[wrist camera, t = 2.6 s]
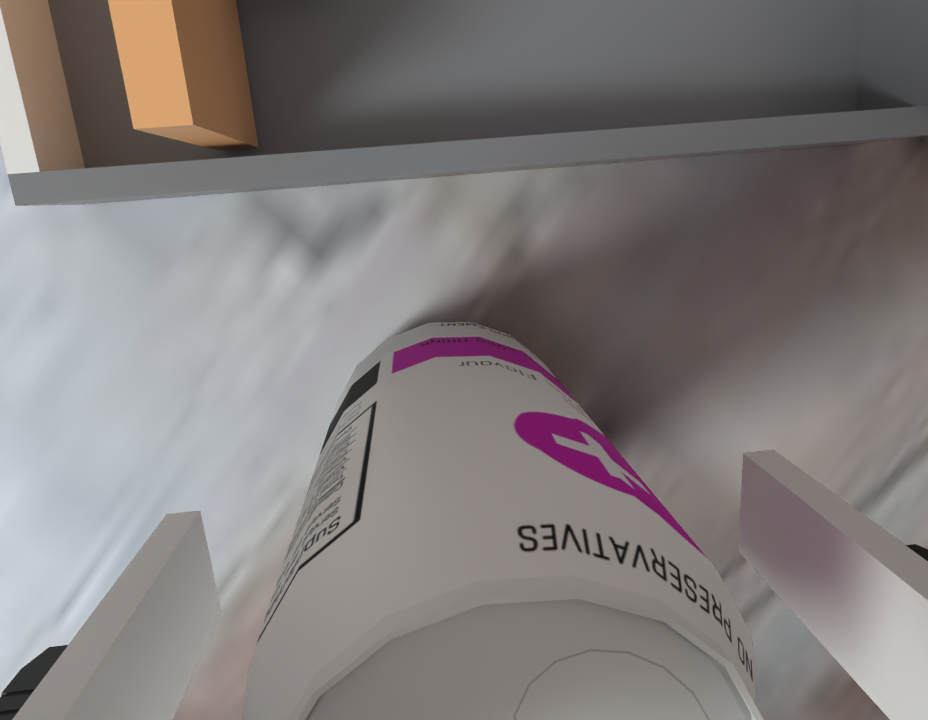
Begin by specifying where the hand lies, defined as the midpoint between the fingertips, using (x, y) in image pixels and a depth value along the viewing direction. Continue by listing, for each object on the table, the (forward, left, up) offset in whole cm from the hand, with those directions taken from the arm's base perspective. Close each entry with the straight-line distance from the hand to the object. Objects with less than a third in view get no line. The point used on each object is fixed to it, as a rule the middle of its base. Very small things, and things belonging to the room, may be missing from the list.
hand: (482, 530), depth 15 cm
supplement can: (0, 0, -8) cm, 8 cm away
